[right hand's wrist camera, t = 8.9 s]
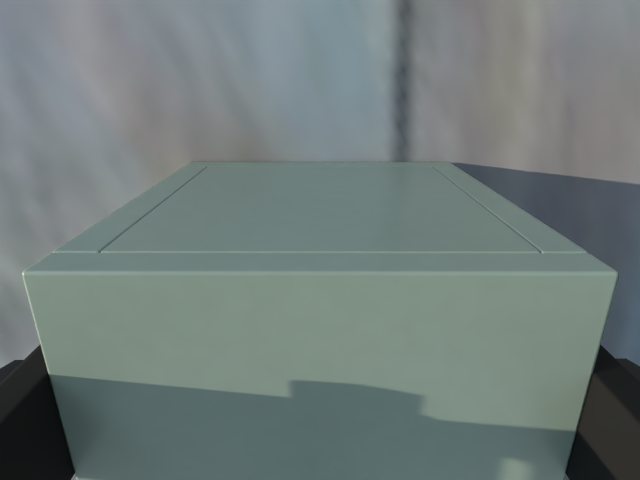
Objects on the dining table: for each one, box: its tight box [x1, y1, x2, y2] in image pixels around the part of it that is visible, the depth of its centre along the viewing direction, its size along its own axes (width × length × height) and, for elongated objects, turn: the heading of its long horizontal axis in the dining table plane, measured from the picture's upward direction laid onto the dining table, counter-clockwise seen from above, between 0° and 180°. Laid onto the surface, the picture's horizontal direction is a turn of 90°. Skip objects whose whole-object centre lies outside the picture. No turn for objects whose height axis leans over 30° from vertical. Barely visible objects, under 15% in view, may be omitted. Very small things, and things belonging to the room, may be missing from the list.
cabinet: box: [22, 162, 619, 480], centre depth 17 cm, size 21×11×11 cm, turn 0°
